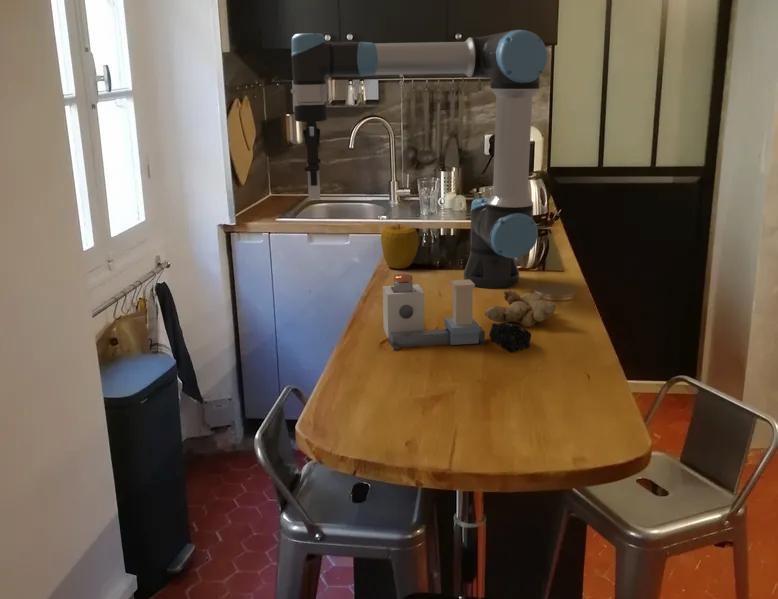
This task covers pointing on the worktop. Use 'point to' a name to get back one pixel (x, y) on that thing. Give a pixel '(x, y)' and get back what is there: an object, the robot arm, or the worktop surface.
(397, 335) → the rail
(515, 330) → the rock
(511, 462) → the worktop surface
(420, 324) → the white square housing
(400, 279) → the copper knob
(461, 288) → the carriage
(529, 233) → the robot arm
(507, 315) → the ginger root
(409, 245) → the apple
